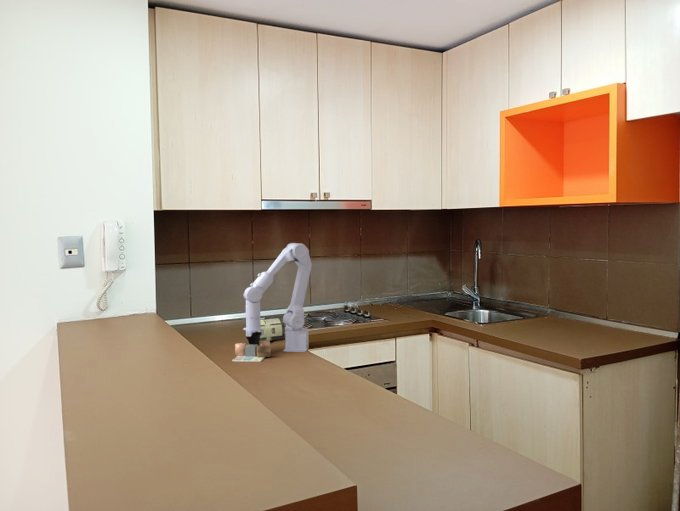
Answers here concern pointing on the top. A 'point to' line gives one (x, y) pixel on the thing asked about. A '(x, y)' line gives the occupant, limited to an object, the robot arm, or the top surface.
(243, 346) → the peach glossy domed part
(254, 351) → the matte grey cube
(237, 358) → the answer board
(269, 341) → the peach rounded cylinder
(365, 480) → the top surface
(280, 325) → the coffee can
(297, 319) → the robot arm
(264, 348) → the walnut block
